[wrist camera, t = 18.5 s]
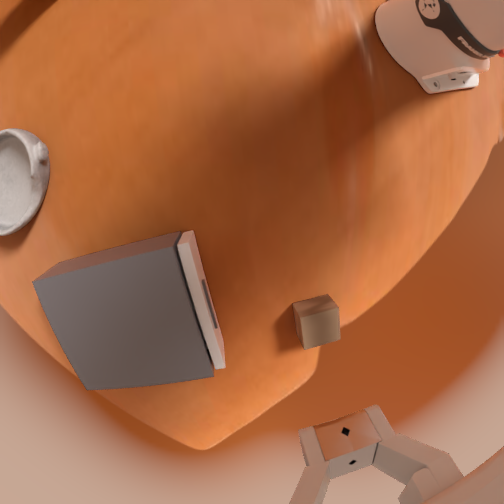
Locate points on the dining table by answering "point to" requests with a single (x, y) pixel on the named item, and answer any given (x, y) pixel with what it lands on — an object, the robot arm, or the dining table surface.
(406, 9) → the robot arm
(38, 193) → the dish
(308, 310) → the walnut block
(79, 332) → the grey drawer cabinet
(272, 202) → the dining table surface
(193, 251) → the white drawer
